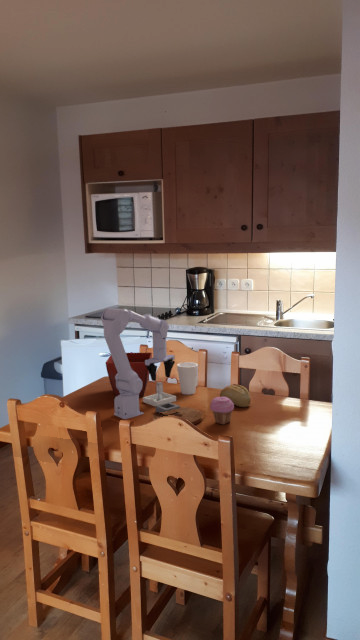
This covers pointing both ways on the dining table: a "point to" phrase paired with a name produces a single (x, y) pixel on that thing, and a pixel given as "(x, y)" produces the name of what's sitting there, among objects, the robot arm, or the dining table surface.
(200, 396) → the dining table surface
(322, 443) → the dining table surface
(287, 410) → the dining table surface
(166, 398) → the tray
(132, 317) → the robot arm
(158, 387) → the pin
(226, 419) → the cupcake
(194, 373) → the foam cup
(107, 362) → the plant pot
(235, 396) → the bread roll
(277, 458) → the dining table surface
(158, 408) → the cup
